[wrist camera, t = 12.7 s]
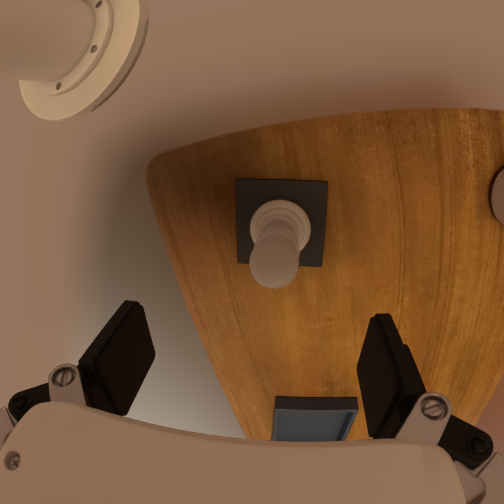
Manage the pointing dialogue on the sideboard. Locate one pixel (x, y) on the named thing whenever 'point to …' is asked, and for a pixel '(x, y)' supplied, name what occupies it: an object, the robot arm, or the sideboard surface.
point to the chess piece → (277, 242)
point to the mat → (296, 191)
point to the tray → (313, 418)
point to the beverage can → (498, 197)
